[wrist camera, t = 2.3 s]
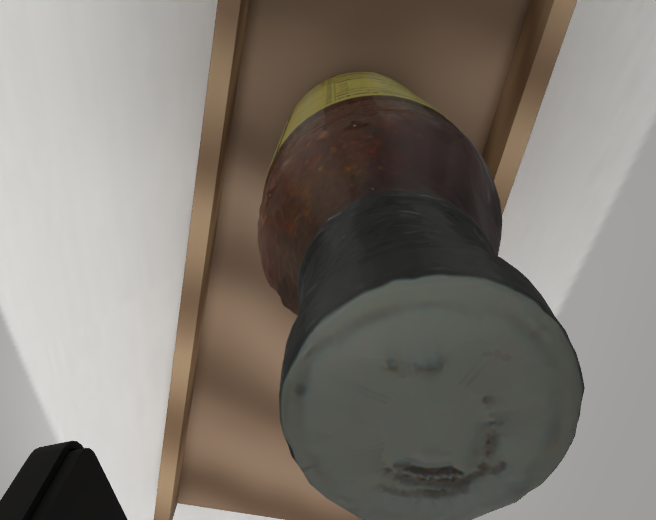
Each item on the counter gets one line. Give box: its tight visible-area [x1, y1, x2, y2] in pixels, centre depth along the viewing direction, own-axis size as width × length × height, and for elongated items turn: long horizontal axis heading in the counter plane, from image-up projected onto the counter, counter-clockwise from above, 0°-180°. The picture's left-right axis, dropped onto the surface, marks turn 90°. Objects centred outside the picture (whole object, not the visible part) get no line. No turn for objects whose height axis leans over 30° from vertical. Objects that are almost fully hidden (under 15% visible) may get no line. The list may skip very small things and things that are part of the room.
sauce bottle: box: [258, 72, 584, 520], centre depth 17 cm, size 6×6×20 cm
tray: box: [154, 0, 577, 520], centre depth 29 cm, size 30×13×3 cm, turn 168°
